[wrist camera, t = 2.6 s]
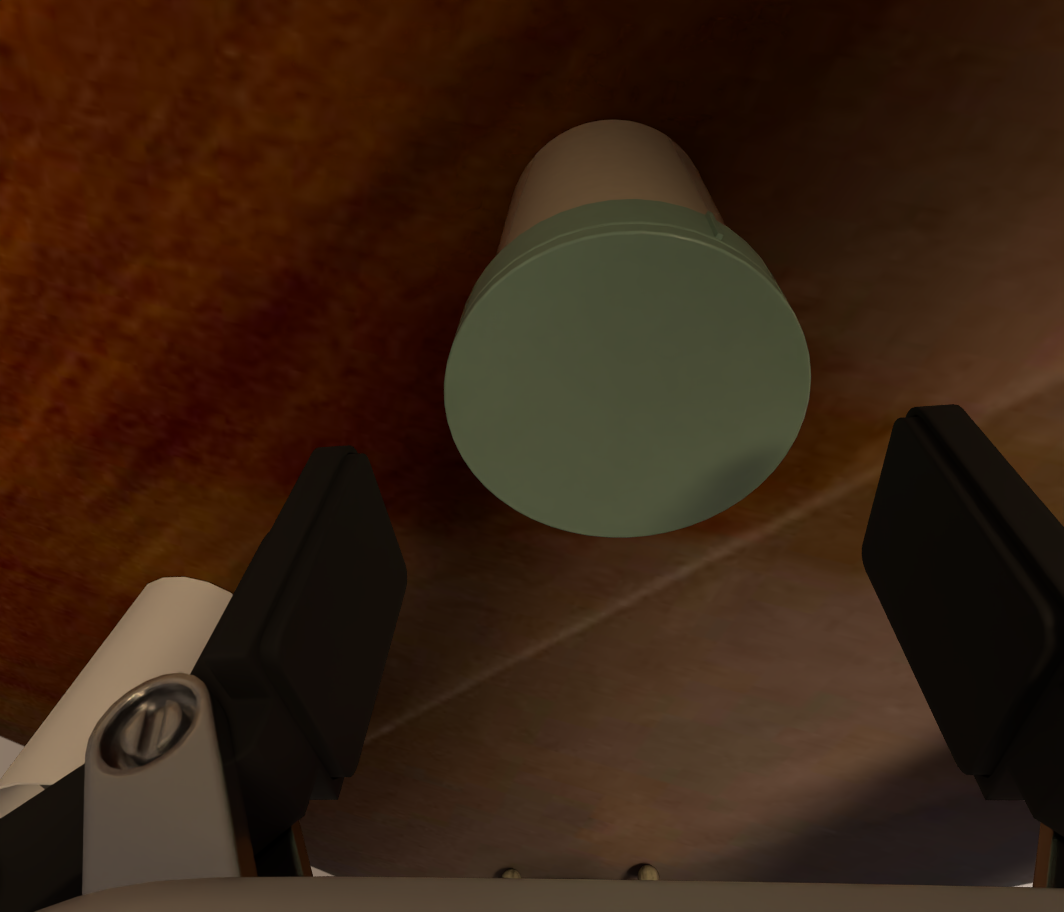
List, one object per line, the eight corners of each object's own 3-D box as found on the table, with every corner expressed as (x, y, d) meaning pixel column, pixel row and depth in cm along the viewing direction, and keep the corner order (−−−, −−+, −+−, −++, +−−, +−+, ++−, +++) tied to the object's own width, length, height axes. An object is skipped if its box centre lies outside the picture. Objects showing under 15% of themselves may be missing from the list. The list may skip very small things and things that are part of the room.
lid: (534, 125, 11) (527, 151, 9) (865, 284, 12) (901, 327, 11) (417, 427, 15) (401, 475, 13) (676, 521, 16) (684, 574, 15)
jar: (557, 79, 17) (539, 178, 10) (748, 174, 19) (858, 326, 11) (480, 275, 21) (425, 455, 14) (645, 344, 22) (676, 544, 15)
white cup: (251, 578, 31) (140, 792, 23) (274, 659, 35) (186, 864, 27) (113, 563, 31) (-46, 773, 23) (151, 646, 35) (28, 848, 27)
